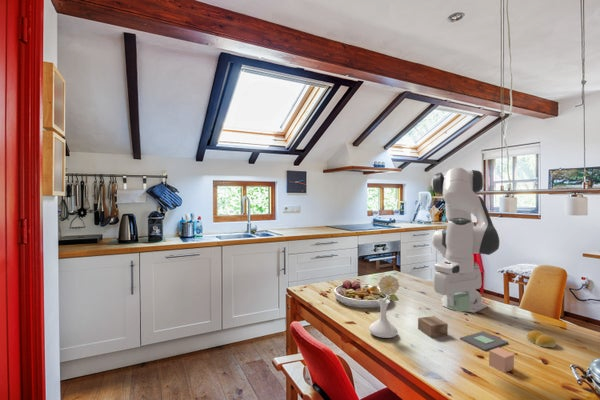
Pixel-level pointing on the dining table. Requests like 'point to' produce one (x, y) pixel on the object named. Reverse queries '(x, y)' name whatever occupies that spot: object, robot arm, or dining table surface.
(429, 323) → the walnut base block
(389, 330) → the flower in vase
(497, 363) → the terracotta block
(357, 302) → the bowl
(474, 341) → the card
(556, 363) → the dining table surface
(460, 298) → the green block
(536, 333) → the bread roll
